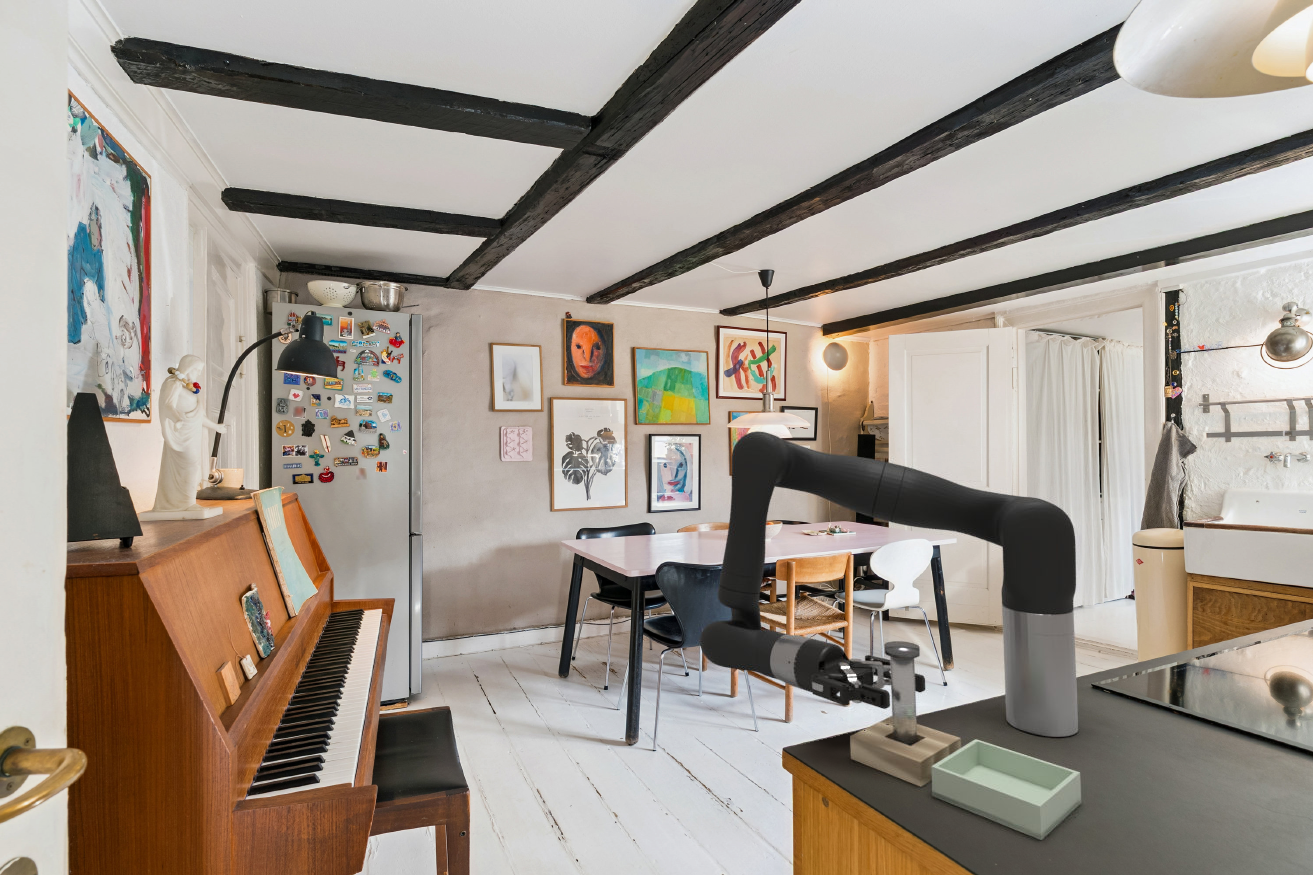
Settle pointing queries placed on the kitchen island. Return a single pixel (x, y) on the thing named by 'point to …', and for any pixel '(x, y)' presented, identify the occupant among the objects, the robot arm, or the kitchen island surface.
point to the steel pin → (903, 690)
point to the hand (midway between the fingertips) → (906, 692)
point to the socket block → (902, 751)
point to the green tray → (1007, 787)
